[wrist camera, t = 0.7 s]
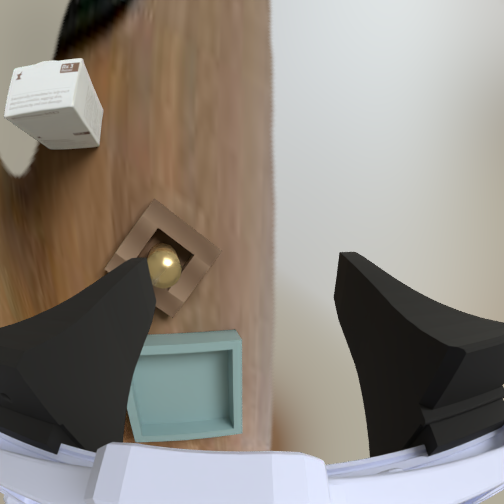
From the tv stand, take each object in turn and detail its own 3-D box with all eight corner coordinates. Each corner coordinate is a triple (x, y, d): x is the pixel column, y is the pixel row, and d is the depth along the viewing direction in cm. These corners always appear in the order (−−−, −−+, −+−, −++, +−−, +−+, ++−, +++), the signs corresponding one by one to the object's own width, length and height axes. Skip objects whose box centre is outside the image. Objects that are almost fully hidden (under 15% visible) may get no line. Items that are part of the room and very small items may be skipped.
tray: (236, 419, 36) (242, 433, 33) (135, 427, 32) (135, 442, 29) (235, 329, 34) (241, 339, 31) (118, 335, 30) (115, 346, 28)
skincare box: (49, 151, 26) (-2, 122, 14) (54, 111, 25) (10, 67, 14) (102, 147, 28) (71, 112, 16) (106, 106, 27) (82, 55, 16)
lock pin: (165, 277, 31) (167, 295, 25) (142, 260, 30) (137, 274, 24) (182, 254, 31) (188, 266, 25) (159, 237, 31) (159, 244, 24)
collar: (172, 313, 32) (172, 317, 30) (106, 266, 29) (104, 269, 28) (219, 249, 32) (222, 250, 31) (155, 199, 30) (154, 198, 28)
